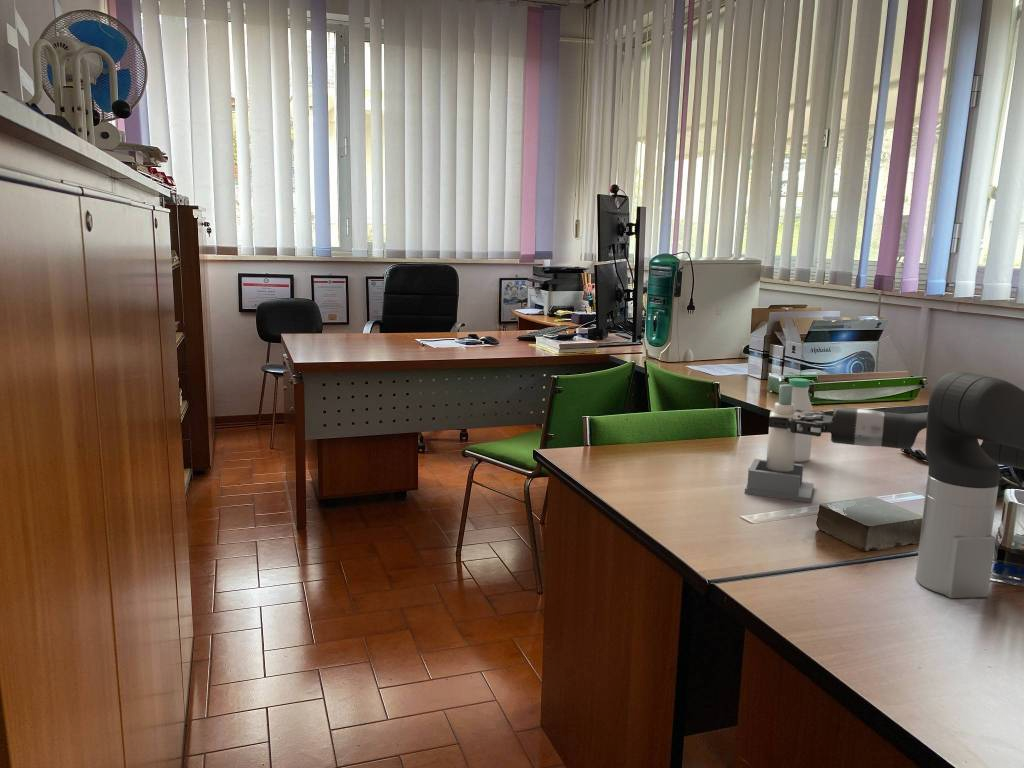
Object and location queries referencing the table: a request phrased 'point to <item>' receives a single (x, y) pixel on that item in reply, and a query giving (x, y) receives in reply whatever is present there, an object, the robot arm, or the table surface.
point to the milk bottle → (801, 403)
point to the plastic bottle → (782, 434)
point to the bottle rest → (778, 482)
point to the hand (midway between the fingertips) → (771, 418)
